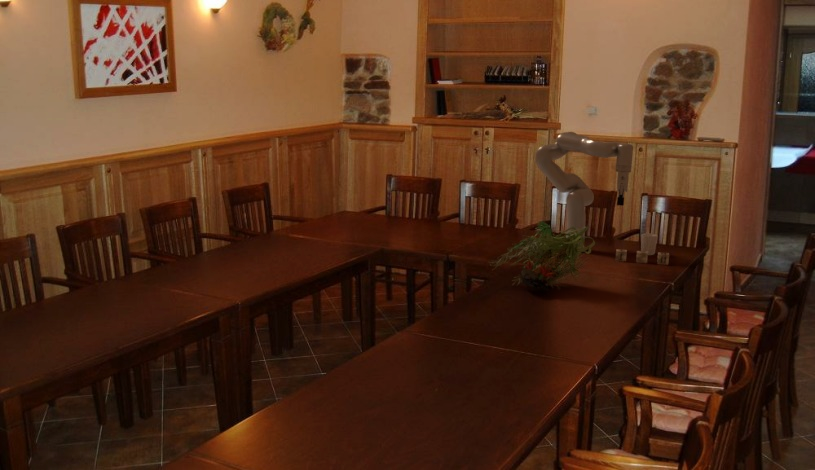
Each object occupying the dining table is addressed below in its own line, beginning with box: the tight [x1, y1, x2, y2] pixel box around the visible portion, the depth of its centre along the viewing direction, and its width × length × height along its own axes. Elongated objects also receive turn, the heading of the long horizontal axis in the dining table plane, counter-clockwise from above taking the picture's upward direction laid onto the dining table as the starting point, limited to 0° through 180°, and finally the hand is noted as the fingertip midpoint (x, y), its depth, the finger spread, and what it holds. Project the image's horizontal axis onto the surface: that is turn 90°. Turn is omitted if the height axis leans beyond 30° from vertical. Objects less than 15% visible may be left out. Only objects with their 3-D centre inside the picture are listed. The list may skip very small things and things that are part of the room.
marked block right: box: [656, 251, 670, 266], centre depth 416 cm, size 5×5×5 cm
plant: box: [488, 220, 599, 292], centre depth 364 cm, size 35×35×40 cm
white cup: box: [640, 232, 658, 256], centre depth 436 cm, size 8×8×10 cm
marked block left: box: [615, 248, 628, 262], centre depth 422 cm, size 5×5×5 cm
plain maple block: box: [636, 250, 649, 264], centre depth 419 cm, size 5×5×5 cm
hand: (620, 205), depth 425 cm, fingers closed
